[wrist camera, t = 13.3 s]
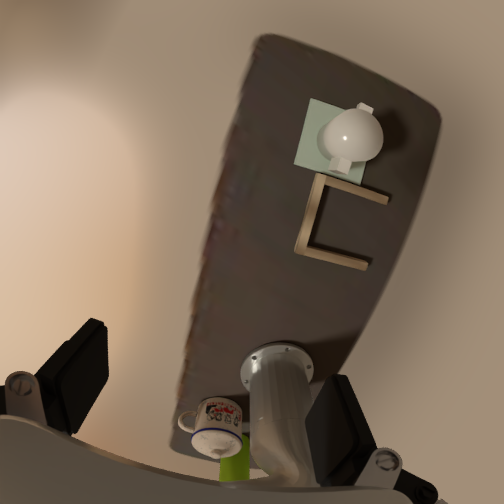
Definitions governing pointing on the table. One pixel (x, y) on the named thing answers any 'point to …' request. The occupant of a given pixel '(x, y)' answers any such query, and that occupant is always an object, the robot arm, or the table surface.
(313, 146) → the sage tile
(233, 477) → the soap dispenser
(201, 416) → the teacup with lid
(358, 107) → the labeled white canister
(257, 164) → the table surface
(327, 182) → the oak stall
